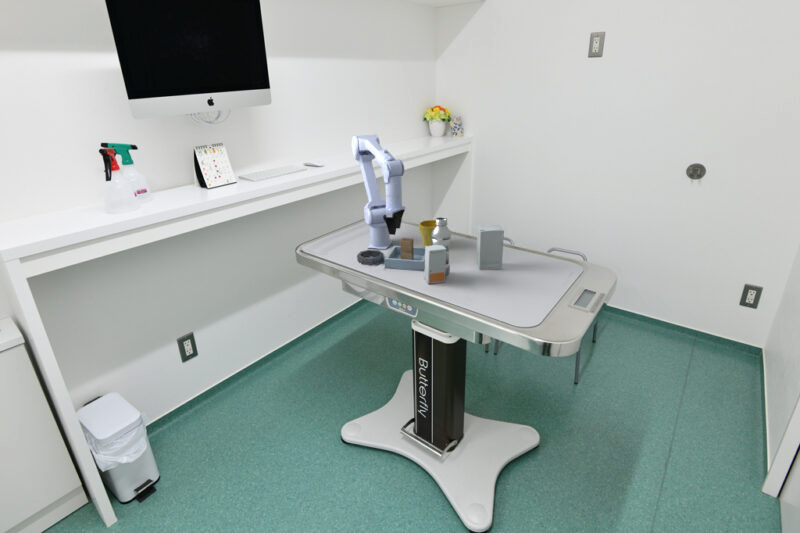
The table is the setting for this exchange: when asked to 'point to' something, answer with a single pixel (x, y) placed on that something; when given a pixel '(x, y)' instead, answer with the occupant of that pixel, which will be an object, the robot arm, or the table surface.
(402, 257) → the peg
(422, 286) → the table surface
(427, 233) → the plant pot
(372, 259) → the collar
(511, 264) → the table surface
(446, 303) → the table surface
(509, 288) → the table surface
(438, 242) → the silver metal bottle
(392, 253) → the bin
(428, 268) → the skincare box
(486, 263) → the skincare box
